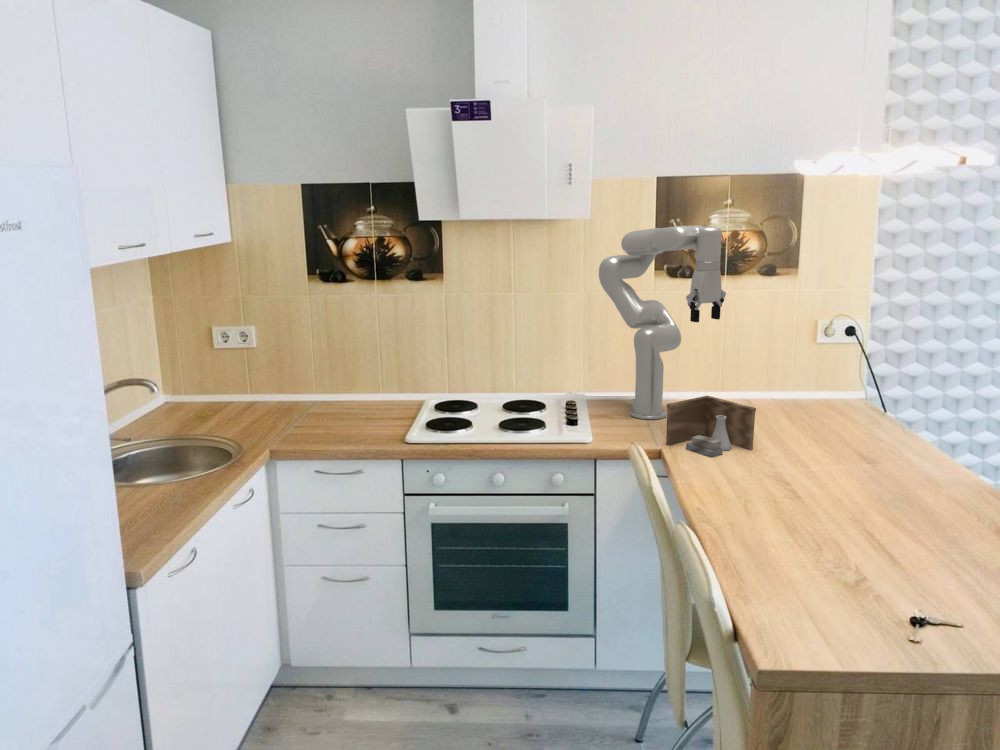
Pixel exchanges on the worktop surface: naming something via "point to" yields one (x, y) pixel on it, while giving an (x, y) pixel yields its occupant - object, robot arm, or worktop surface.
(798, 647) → the worktop surface
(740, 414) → the brown wooden corner wall
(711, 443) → the offcut top
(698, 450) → the tray
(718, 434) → the flask
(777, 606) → the worktop surface
